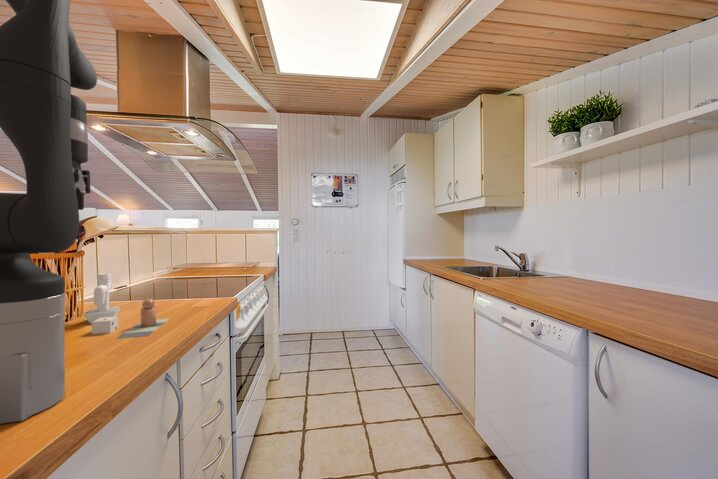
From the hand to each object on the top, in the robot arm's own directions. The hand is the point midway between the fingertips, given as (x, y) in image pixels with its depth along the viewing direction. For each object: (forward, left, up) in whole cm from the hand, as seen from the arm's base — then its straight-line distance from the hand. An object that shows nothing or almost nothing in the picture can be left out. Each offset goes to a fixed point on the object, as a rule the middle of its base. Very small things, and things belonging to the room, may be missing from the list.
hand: (66, 208), depth 68 cm
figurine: (+20, +2, -33) cm, 39 cm away
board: (+9, -13, -33) cm, 37 cm away
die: (+8, -4, -33) cm, 34 cm away
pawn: (+11, -13, -32) cm, 37 cm away
